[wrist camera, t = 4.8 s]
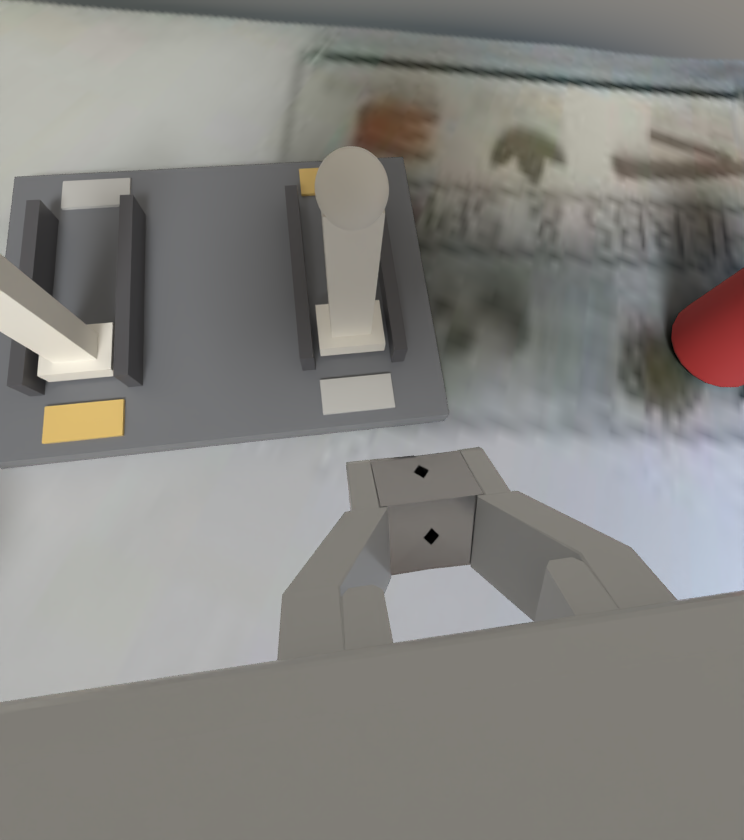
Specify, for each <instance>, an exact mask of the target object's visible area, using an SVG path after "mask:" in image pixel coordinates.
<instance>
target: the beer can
mask: <svg viewBox="0 0 744 840" xmlns="http://www.w3.org/2000/svg"><path fill="white" fill-rule="evenodd" d="M671 341H672V345H673V349H674V353H675V354H676V356H677V358H678V359H679V361H680V363H681V364H682V365H683V366H684V367H685V368H686V369H687V370H688V371H689V372H690V373H691V374H692V375H693V376H695V377H697V378H698V379H700V380H702V381H703V382H705V383H708V384H712V385H715V386H719V387H739V386H741V385H744V268H743V269H741V270H740V271H738V272H737V273H735V274H734V275H732V276H731V277H729V278H728V279H726V280H725V281H724V282H722V283H721V284H719V285H718V286H716V287H715V288H713V289H712V290H710V291H709V292H707V293H706V294H705V295H703V296H702V297H700V298H699V299H697V300H696V301H694V302H693V303H691V304H690V305H688V306H687V307H686V308H685V309H684V310H682V311H681V312H680V313H679V314H678V316H677V318H676V320H675V322H674V324H673V326H672V335H671Z"/></svg>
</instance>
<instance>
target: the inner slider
mask: <svg viewBox="0 0 744 840" xmlns="http://www.w3.org/2000/svg"><path fill="white" fill-rule="evenodd" d="M0 332H2V333H3V334H5V335H7V336H8V337H10V338H12V339H13V340H15V341H17V342H18V343H20V344H22V345H23V346H25V347H27V348H28V349H30V350H32V351H33V352H35V353H37V354H38V355H39V360H38V372H37V376H38V377H40V378H42V379H44V380H46V381H48V382H56V381H67V380H78V379H88V378H99V377H110V376H113V365H114V339H115V324H114V323H113V322H111V323H99V324H87V325H86V324H85V323H84V322H83V321H81V320H80V319H79V318H78V317H76V316H75V315H74V314H73V313H72V312H70V311H69V310H68V309H67V308H66V307H64V306H63V305H62V304H61V303H59V302H58V301H57V300H56V299H55V298H53V297H52V296H51V295H50V294H48V293H47V292H46V291H45V290H44V289H42V288H41V287H40V286H39V285H38V284H36V283H35V282H34V281H33V280H31V279H30V278H29V277H28V276H27V275H25V274H24V273H23V272H22V271H20V270H19V269H18V268H17V267H16V266H14V265H13V264H12V263H11V262H10V261H8V260H7V259H6V258H5V257H3V256H2V255H1V254H0Z"/></svg>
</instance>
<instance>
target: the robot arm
mask: <svg viewBox="0 0 744 840" xmlns="http://www.w3.org/2000/svg"><path fill="white" fill-rule="evenodd" d="M346 470H347V480H348V491H349V501H350V511H349V512H345V513H344V514H343V515H342V517H341V518H340V519H339V521H338V522H337V523H336V525H335V526H334V527H333V529H332V530H331V531H330V533H329V534H328V535H327V536H326V538H325V539H324V540H323V542H322V543H321V544H320V546H319V547H318V548H317V550H316V551H315V552H314V554H313V555H312V556H311V558H310V559H309V560H308V562H307V563H306V564H305V566H304V567H303V568H302V570H301V571H300V572H299V574H298V575H297V576H296V577H295V579H294V580H293V581H292V583H291V584H290V585H289V587H288V588H287V589H286V591H285V592H284V593H283V595H282V606H281V619H280V632H279V646H278V659H277V661H270V662H264V663H257V664H250V665H244V666H237V667H230V668H224V669H217V670H210V671H204V672H197V673H191V674H184V675H177V676H171V677H164V678H157V679H151V680H144V681H137V682H131V683H124V684H118V685H111V686H104V687H98V688H91V689H84V690H78V691H71V692H64V693H58V694H51V695H45V696H38V697H31V698H25V699H18V700H11V701H5V702H0V840H744V590H742V591H735V592H729V593H722V594H715V595H709V596H702V597H695V598H689V599H682V600H677V599H676V598H675V597H674V596H673V594H672V593H671V592H670V591H669V590H668V589H667V588H666V586H665V585H664V584H663V583H662V582H661V581H660V580H659V578H658V577H657V576H656V575H655V574H654V573H653V572H652V570H651V569H650V568H649V567H648V566H647V565H646V564H645V562H644V561H643V560H642V559H641V558H640V557H639V556H638V555H637V553H636V552H635V551H634V550H633V549H632V548H631V547H629V546H627V545H625V544H623V543H621V542H619V541H617V540H615V539H613V538H611V537H609V536H607V535H605V534H603V533H601V532H599V531H597V530H595V529H593V528H591V527H589V526H587V525H585V524H583V523H581V522H579V521H577V520H575V519H573V518H571V517H569V516H567V515H565V514H563V513H561V512H559V511H557V510H555V509H553V508H551V507H549V506H547V505H545V504H543V503H541V502H539V501H537V500H535V499H533V498H531V497H529V496H527V495H525V494H523V493H521V492H519V491H512V492H511V491H510V490H509V488H508V487H507V485H506V484H505V482H504V481H503V479H502V477H501V476H500V474H499V473H498V471H497V470H496V468H495V467H494V465H493V464H492V462H491V461H490V459H489V458H488V456H487V455H486V453H485V452H484V450H483V449H482V448H480V447H476V448H469V449H462V450H457V451H451V452H443V453H436V454H428V455H420V456H405V457H394V458H383V459H372V460H370V461H369V460H362V461H354V462H346ZM462 565H471V567H472V568H473V569H474V570H475V571H476V572H478V573H479V574H480V575H481V576H482V577H483V578H484V579H486V580H487V581H488V582H489V583H490V584H491V585H493V586H494V587H495V588H496V589H497V590H498V591H499V592H501V593H502V594H503V595H504V596H505V597H506V598H507V599H509V600H510V601H511V602H512V603H513V604H514V605H516V606H517V607H518V608H519V609H520V610H521V611H522V612H524V613H525V614H526V615H527V616H528V617H529V618H531V619H532V620H533V621H534V622H529V623H522V624H516V625H509V626H503V627H496V628H489V629H483V630H476V631H469V632H463V633H456V634H449V635H443V636H436V637H429V638H423V639H416V640H410V641H403V642H396V643H393V639H392V634H391V629H390V623H389V618H388V613H387V608H386V602H385V597H384V593H385V591H386V589H387V586H388V584H389V582H390V579H391V575H397V574H403V573H409V572H415V571H421V570H427V569H434V568H444V567H453V566H462Z"/></svg>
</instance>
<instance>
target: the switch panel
mask: <svg viewBox="0 0 744 840" xmlns="http://www.w3.org/2000/svg"><path fill="white" fill-rule="evenodd" d="M378 160H379V161H380V162H381V164H382V165H383V167H384V169H385V171H386V174H387V177H388V183H389V196H388V201H387V204H386V207H385V220H384V228H383V237H382V245H381V254H380V262H379V271H378V279H377V288H376V296H375V300H379V302H380V309H381V316H382V323H383V330H384V336H385V343H386V344H385V349H384V351H373V352H362V353H351V354H340V355H329V356H321V355H320V347H319V337H318V328H317V318H316V308H315V305H322V304H328V292H327V279H326V267H325V254H324V241H323V229H322V216H321V210H320V208H319V206H318V203H317V201H316V196H315V179H316V174H317V171H318V169H319V167H320V165H321V163H322V162H323V161H313V162H294V163H274V164H255V165H235V166H216V167H196V168H177V169H157V170H138V171H118V172H99V173H80V174H60V175H41V176H21V177H15V179H14V188H13V196H12V205H11V213H10V222H9V230H8V239H7V247H6V255H5V258H6V259H7V260H8V261H10V262H11V263H12V264H13V265H14V266H16V267H17V268H18V269H19V270H20V271H22V272H23V273H24V274H25V275H27V276H28V277H29V278H30V279H31V280H33V281H34V282H35V283H36V284H38V285H39V286H40V287H41V288H42V289H44V290H45V291H46V292H47V293H48V294H50V295H51V296H52V297H53V298H55V299H56V300H57V301H58V302H59V303H61V304H62V305H63V306H64V307H66V308H67V309H68V310H69V311H70V312H72V313H73V314H74V315H75V316H76V317H78V318H79V319H80V320H81V321H83V322H84V323H85V324H86V325H87V324H99V323H111V322H113V323H114V324H115V339H114V365H113V376H110V377H99V378H88V379H78V380H67V381H56V382H48V381H46V380H44V379H42V378H40V377H38V376H37V372H38V360H39V355H38V354H37V353H35V352H33V351H32V350H30V349H28V348H27V347H25V346H23V345H22V344H20V343H18V342H17V341H15V340H13V339H12V338H10V337H8V336H7V335H5V334H3V333H2V332H0V468H1V469H3V468H13V467H22V466H31V465H40V464H50V463H59V462H68V461H78V460H87V459H96V458H105V457H115V456H124V455H133V454H142V453H152V452H161V451H170V450H179V449H189V448H198V447H207V446H217V445H226V444H235V443H244V442H254V441H263V440H272V439H281V438H291V437H300V436H309V435H319V434H328V433H337V432H346V431H356V430H365V429H374V428H383V427H393V426H402V425H411V424H420V423H430V422H439V421H444V420H445V419H446V418H447V417H448V416H449V409H448V404H447V398H446V393H445V387H444V382H443V376H442V371H441V365H440V360H439V354H438V349H437V343H436V337H435V332H434V326H433V321H432V315H431V310H430V304H429V299H428V293H427V288H426V282H425V277H424V271H423V266H422V260H421V254H420V249H419V243H418V238H417V232H416V227H415V221H414V216H413V210H412V205H411V199H410V194H409V188H408V183H407V177H406V171H405V166H404V160H403V157H391V158H378Z"/></svg>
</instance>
